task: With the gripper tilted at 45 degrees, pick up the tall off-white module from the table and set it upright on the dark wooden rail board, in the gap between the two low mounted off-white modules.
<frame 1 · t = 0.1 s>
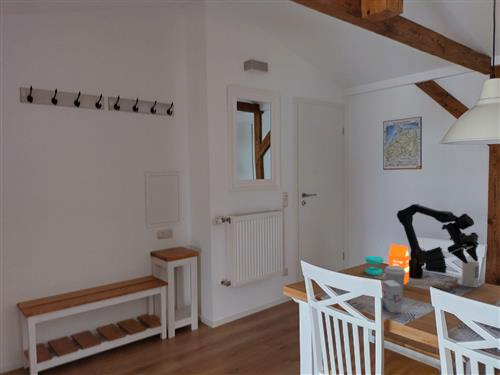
hand: (471, 262, 185), 15 cm above the table, tool tilted 35°, fingers open, 9 cm apart
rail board: (445, 287, 193), on the table
orange juice: (398, 281, 204), on the table
grey canister: (394, 299, 175), on the table
black slab: (433, 271, 226), on the table
ink box: (391, 309, 162), on the table
module: (470, 285, 196), on the table
donuts: (374, 274, 220), on the table
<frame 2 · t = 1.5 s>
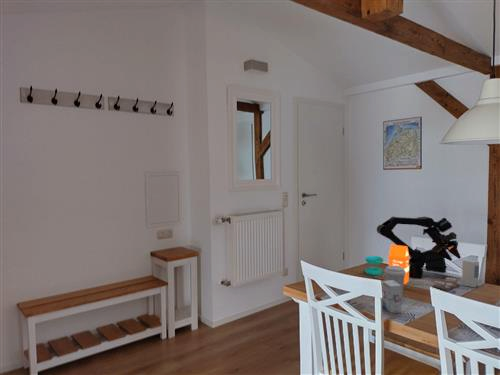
hand: (455, 259, 201), 13 cm above the table, tool tilted 45°, fingers open, 9 cm apart
nothing on the table moved.
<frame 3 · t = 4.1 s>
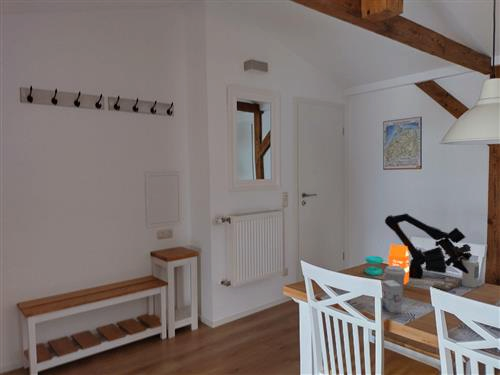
hand: (470, 272, 195), 7 cm above the table, tool tilted 45°, fingers closed on module, 5 cm apart
module: (470, 285, 195), on the table, touching gripper
everything else where it was.
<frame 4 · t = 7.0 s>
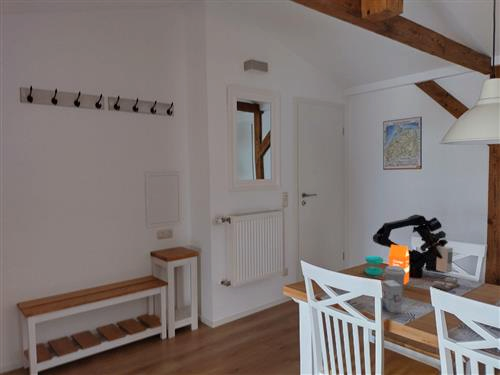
hand: (444, 258, 202), 13 cm above the table, tool tilted 45°, fingers closed on module, 5 cm apart
orange juice: (398, 281, 204), on the table, touching arm
module: (443, 271, 202), point 6 cm above the table, touching gripper
everything else where it was.
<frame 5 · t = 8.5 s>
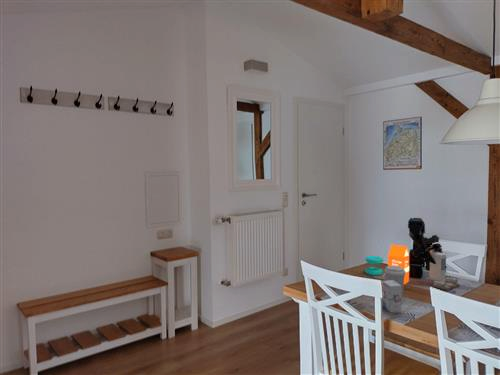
hand: (437, 263, 196), 12 cm above the table, tool tilted 45°, fingers closed on module, 4 cm apart
orange juice: (398, 281, 204), on the table
module: (437, 277, 197), point 4 cm above the table, touching gripper
everything else where it was.
when the fingers open (10 cm above the table, at t = 10.0 s): module stays where it is, resting on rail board.
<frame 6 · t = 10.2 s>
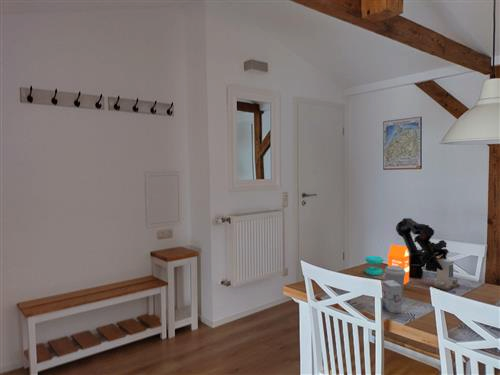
hand: (445, 268, 193), 10 cm above the table, tool tilted 45°, fingers open, 7 cm apart
module: (444, 284, 194), point 1 cm above the table, touching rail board
everything else where it was.
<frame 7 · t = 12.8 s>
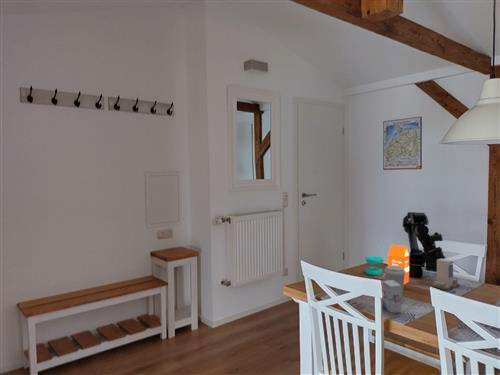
hand: (438, 260, 201), 12 cm above the table, tool tilted 30°, fingers open, 9 cm apart
nothing on the table moved.
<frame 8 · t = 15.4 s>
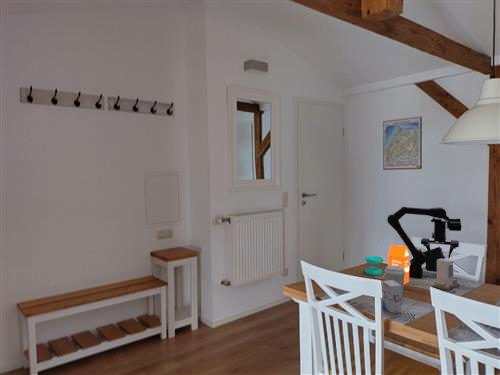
hand: (439, 257, 208), 12 cm above the table, tool pointing down, fingers open, 9 cm apart
nothing on the table moved.
at the end: module 0.7 cm off-centre on the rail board, point 1.2 cm above the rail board's base; module tilted 0°; the gripper is holding nothing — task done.
